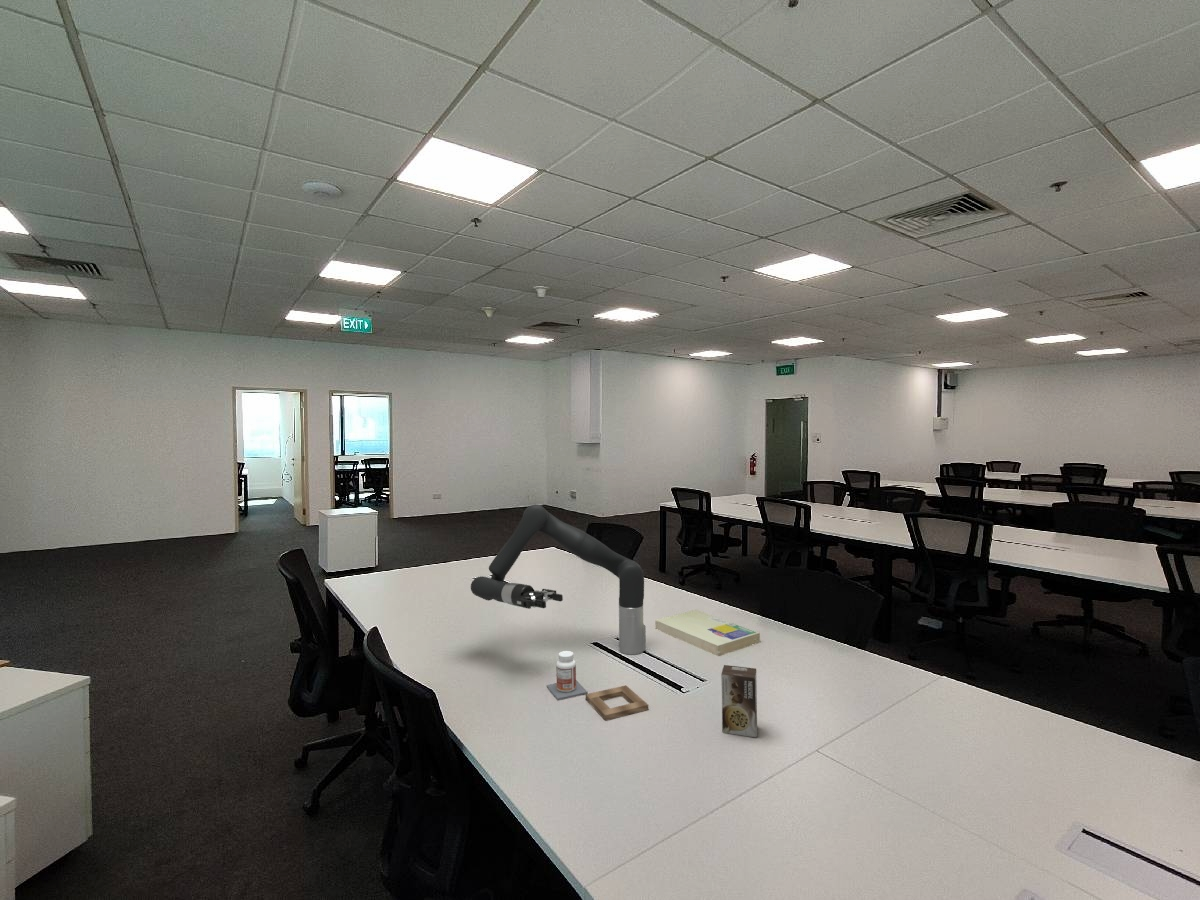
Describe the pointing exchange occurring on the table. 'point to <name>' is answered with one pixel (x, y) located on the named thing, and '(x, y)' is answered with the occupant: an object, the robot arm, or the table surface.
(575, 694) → the pad
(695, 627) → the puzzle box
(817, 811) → the table surface
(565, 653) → the pill bottle
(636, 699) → the board
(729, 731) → the coffee box
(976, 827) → the table surface
